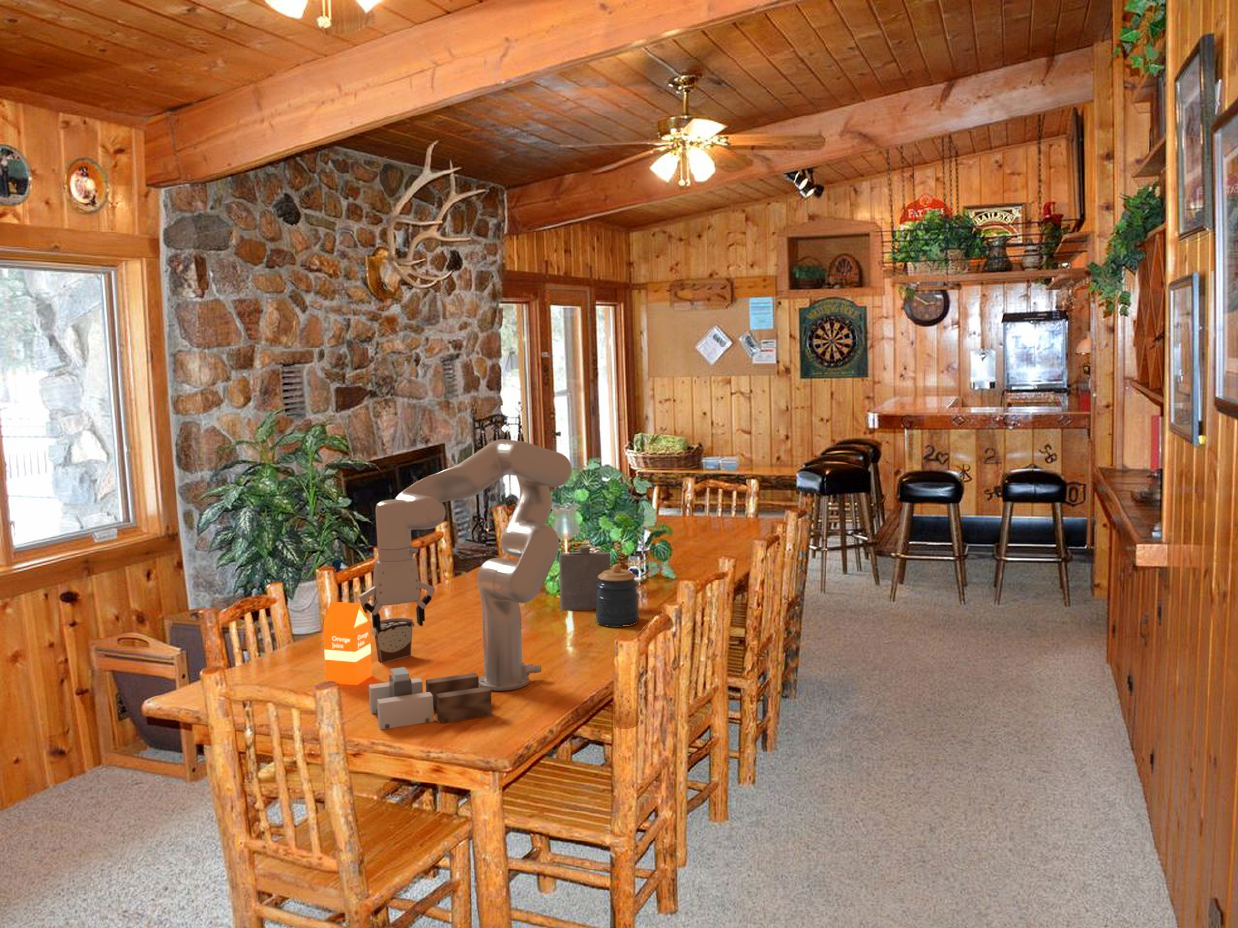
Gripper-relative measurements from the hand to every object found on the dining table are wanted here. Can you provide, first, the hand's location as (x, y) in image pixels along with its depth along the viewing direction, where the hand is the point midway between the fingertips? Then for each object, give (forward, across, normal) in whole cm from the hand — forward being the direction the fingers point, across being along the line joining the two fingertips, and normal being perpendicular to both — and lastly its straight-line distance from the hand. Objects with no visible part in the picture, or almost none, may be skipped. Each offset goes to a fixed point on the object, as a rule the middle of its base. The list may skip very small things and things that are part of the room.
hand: (399, 627), depth 252 cm
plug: (+21, +1, +1) cm, 21 cm away
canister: (+22, -75, -50) cm, 93 cm away
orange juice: (+21, +8, -31) cm, 38 cm away
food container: (+21, -6, -45) cm, 50 cm away
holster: (+21, -12, +3) cm, 24 cm away
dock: (+20, +1, +1) cm, 21 cm away
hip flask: (+22, -72, -69) cm, 102 cm away
